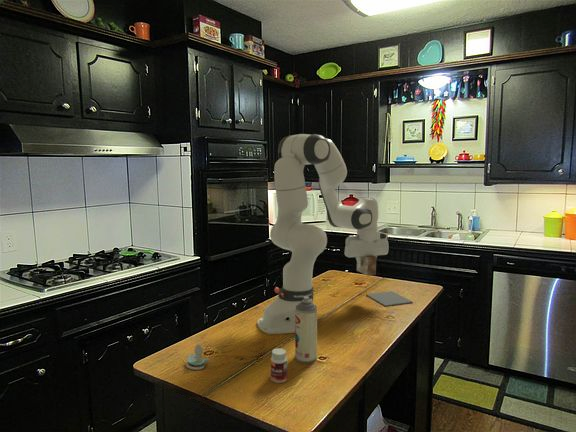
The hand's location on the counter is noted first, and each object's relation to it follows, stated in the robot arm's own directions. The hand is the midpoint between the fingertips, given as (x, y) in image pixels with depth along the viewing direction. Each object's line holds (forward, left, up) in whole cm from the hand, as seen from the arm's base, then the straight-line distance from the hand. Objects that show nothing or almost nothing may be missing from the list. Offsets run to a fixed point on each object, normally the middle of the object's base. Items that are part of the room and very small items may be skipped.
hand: (366, 265), depth 181 cm
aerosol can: (-45, -40, -17) cm, 62 cm away
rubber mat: (+12, 0, -17) cm, 21 cm away
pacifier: (-78, -33, -17) cm, 86 cm away
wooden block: (0, 0, -3) cm, 3 cm away
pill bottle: (-57, -49, -17) cm, 77 cm away
